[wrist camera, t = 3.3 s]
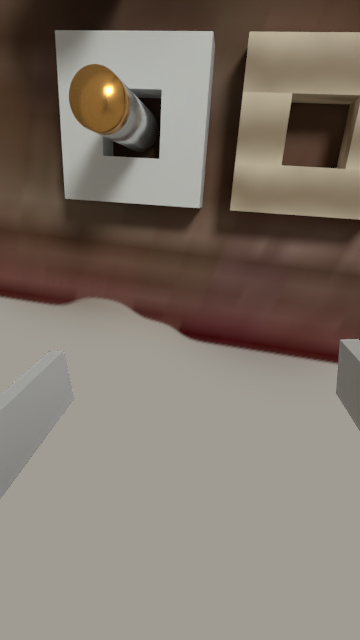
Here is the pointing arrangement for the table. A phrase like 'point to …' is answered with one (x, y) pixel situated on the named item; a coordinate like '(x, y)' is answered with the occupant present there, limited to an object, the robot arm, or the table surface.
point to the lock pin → (111, 108)
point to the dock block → (272, 120)
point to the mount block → (145, 82)
